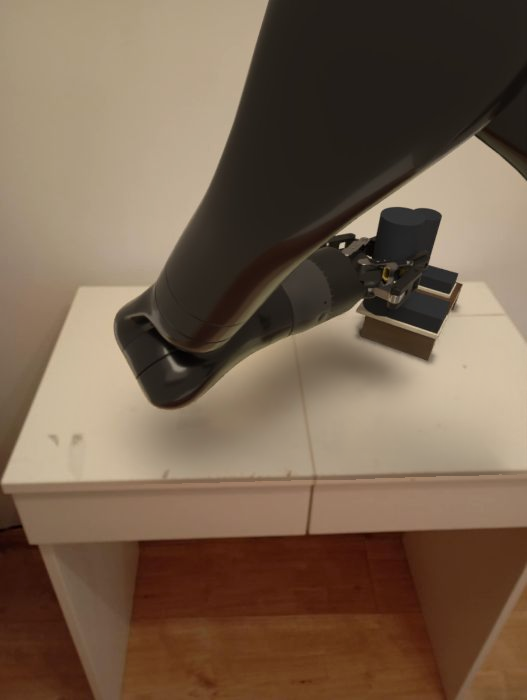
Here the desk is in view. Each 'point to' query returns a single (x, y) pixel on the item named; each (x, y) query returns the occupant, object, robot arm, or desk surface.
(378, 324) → the shoe shelf
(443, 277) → the black boot
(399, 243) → the dark navy blocky boot
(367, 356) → the desk surface
